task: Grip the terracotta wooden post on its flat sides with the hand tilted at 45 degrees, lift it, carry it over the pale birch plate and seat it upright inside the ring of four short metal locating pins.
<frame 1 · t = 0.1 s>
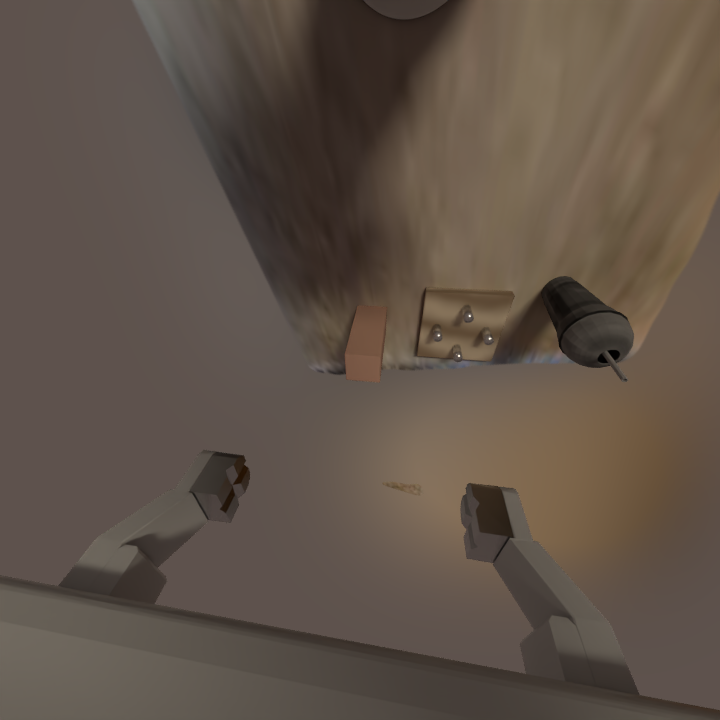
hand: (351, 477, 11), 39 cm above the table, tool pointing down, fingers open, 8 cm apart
beverage cup: (558, 289, 45), on the table
pin plate: (459, 323, 51), on the table
terracotta post: (372, 318, 53), on the table
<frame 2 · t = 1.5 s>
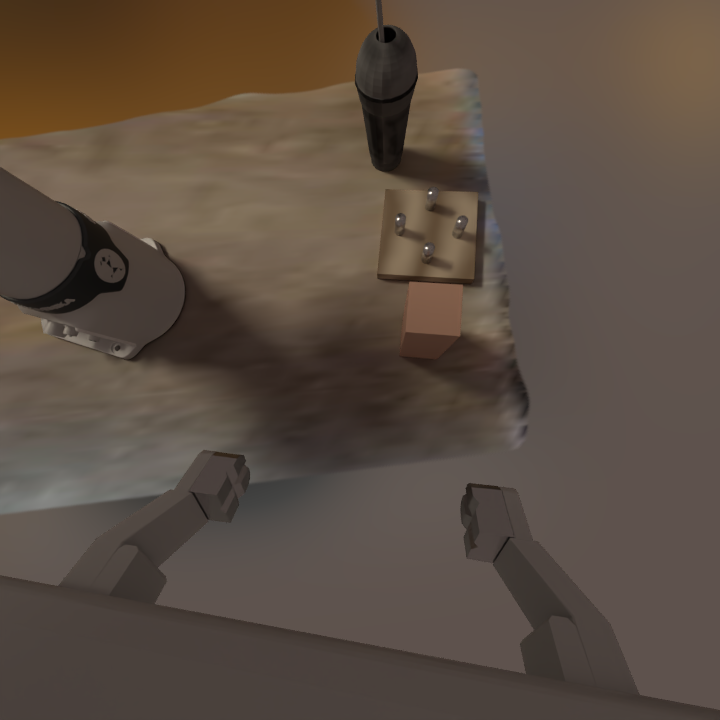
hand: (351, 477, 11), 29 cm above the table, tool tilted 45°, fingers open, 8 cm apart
beverage cup: (386, 159, 46), on the table
pin plate: (426, 238, 43), on the table
terracotta post: (419, 339, 41), on the table
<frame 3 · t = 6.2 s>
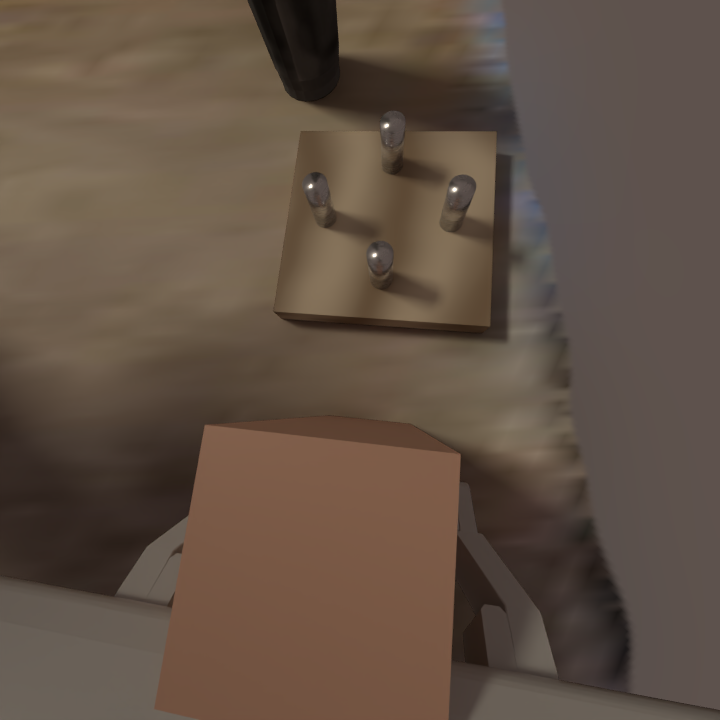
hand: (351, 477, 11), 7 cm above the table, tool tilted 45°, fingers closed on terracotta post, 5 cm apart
beverage cup: (311, 79, 23), on the table
pin plate: (387, 233, 20), on the table
terracotta post: (365, 461, 18), on the table, touching gripper
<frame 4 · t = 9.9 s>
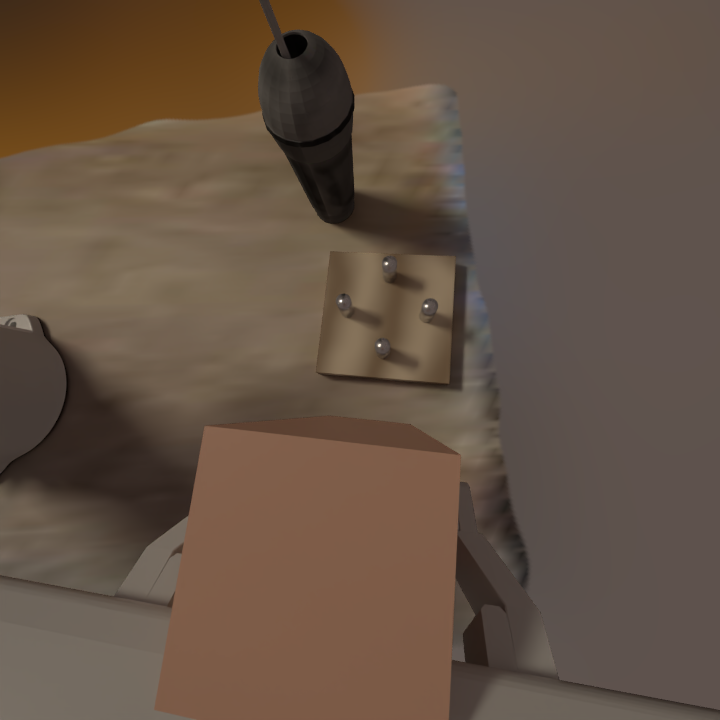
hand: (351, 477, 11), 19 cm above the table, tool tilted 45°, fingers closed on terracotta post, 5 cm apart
beverage cup: (335, 206, 35), on the table
pin plate: (386, 318, 32), on the table
terracotta post: (365, 461, 18), point 12 cm above the table, touching gripper
when the fingers open (10 cm above the table, at t = 13.9 s): terracotta post drops 1 cm, resting on pin plate.
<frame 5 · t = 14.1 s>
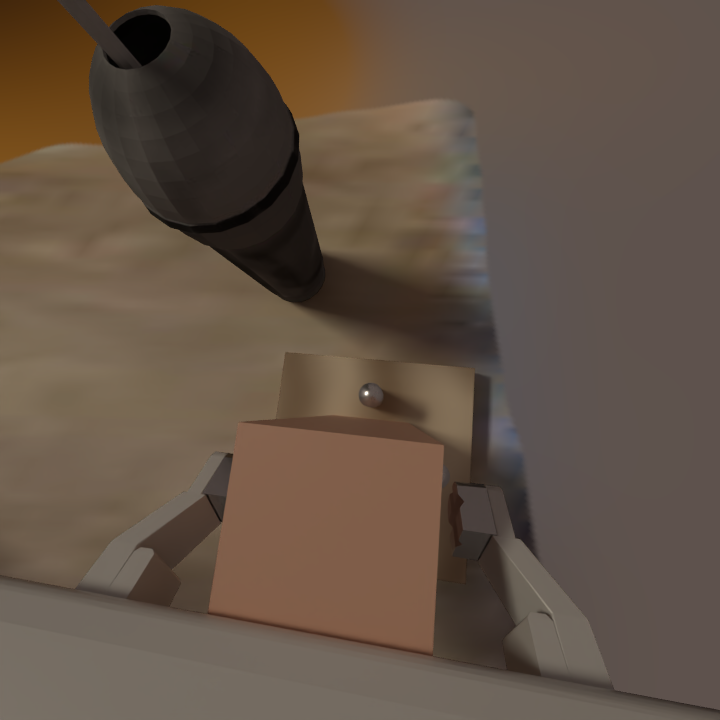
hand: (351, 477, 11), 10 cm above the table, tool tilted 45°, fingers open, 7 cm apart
beverage cup: (298, 276, 24), on the table
pin plate: (369, 454, 21), on the table
terracotta post: (366, 457, 20), point 1 cm above the table, touching pin plate
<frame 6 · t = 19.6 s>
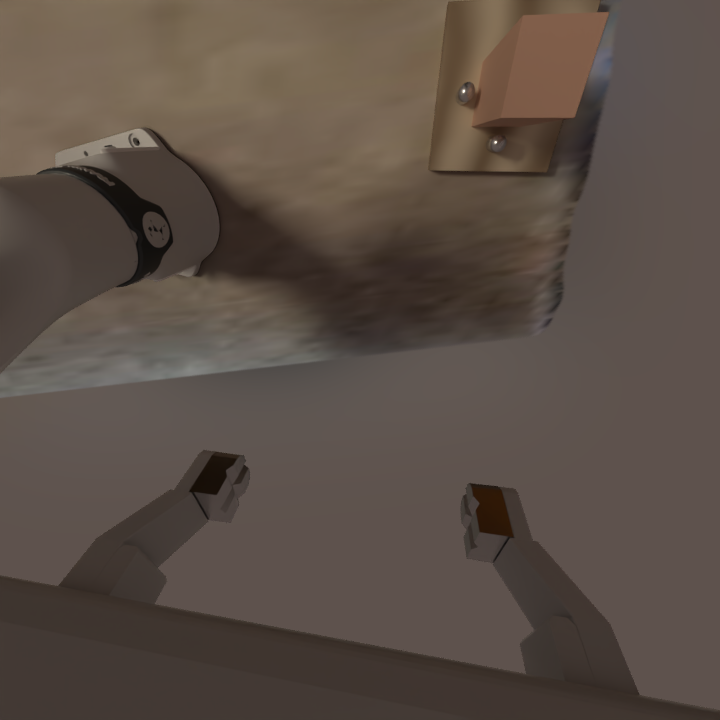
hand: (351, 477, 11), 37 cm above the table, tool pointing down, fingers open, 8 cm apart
pin plate: (499, 97, 32), on the table
terracotta post: (502, 95, 30), point 1 cm above the table, touching pin plate
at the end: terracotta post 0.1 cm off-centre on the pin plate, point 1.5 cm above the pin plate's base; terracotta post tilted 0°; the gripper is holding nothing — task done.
